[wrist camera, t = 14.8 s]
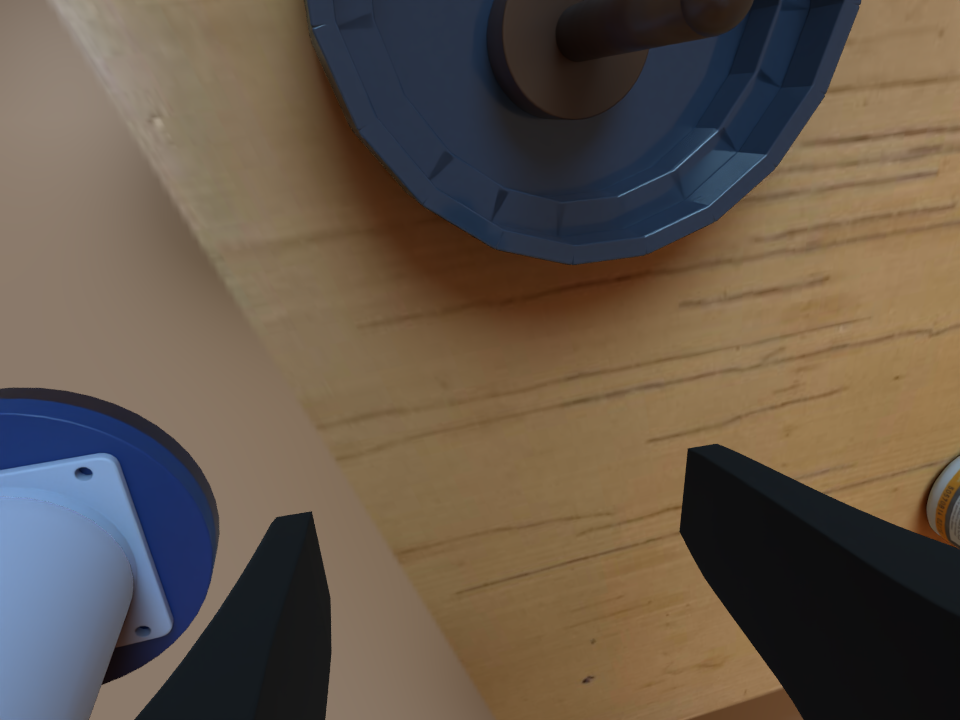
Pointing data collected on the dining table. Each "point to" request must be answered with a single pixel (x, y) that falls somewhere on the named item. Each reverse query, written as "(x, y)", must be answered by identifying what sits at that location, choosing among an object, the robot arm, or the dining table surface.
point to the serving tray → (576, 123)
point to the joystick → (590, 47)
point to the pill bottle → (946, 504)
